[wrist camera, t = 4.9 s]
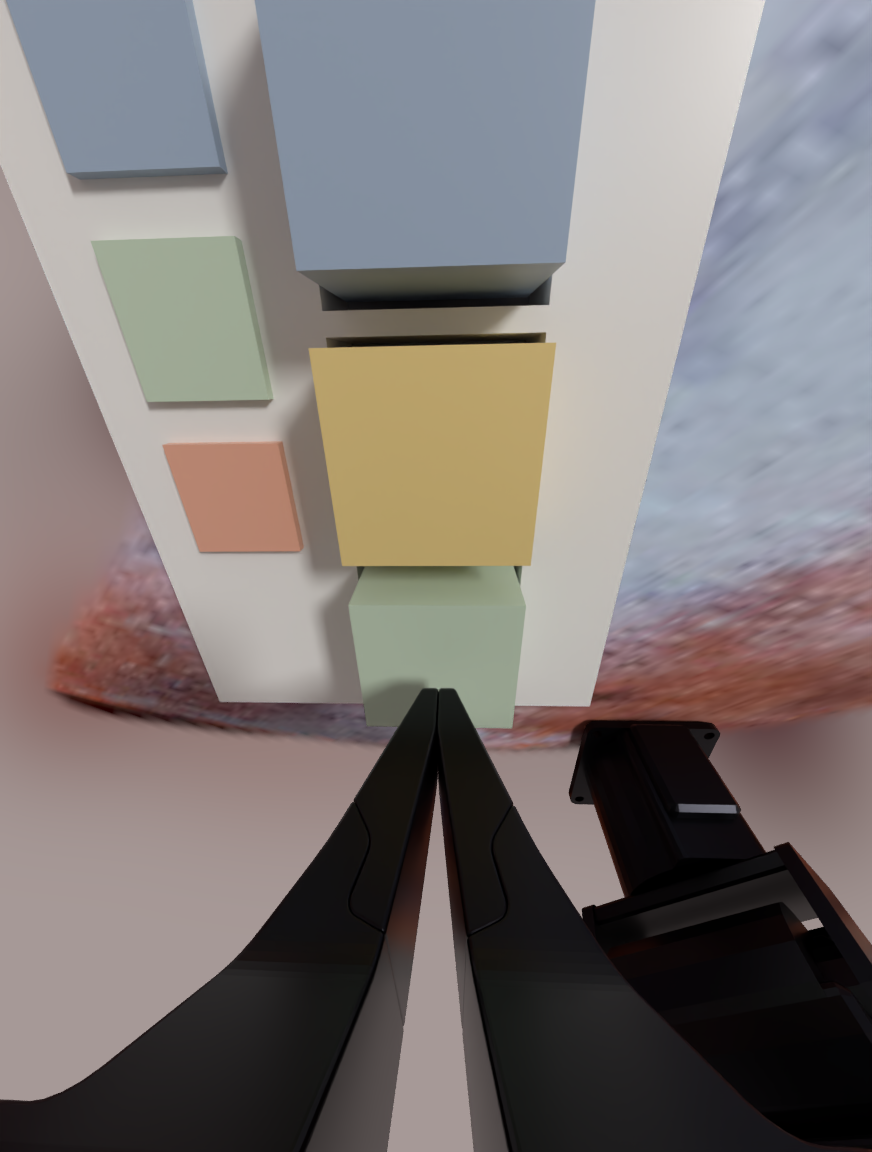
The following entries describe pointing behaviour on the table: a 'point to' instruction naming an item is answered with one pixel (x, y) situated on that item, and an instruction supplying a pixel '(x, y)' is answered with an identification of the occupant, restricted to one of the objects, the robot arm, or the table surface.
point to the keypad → (346, 313)
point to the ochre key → (434, 450)
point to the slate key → (427, 141)
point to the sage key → (438, 639)
